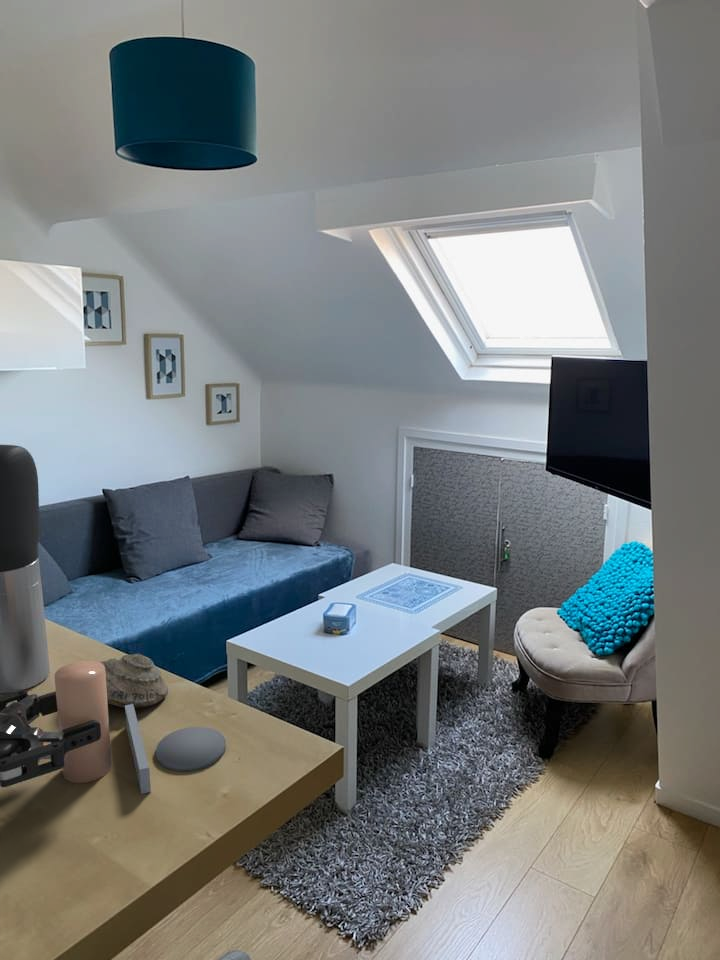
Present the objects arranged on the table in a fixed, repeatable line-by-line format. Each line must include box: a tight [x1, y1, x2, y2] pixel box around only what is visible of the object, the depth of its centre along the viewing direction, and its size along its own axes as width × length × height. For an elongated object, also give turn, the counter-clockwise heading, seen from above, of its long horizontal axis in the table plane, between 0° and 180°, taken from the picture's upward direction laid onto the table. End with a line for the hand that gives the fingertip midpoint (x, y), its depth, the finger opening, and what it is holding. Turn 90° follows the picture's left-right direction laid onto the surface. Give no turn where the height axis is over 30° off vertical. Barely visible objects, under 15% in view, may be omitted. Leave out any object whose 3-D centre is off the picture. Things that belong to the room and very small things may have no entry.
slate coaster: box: [155, 726, 227, 772], centre depth 87 cm, size 8×8×1 cm
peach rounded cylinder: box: [54, 660, 113, 784], centre depth 82 cm, size 5×5×12 cm
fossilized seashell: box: [99, 653, 169, 709], centre depth 98 cm, size 11×11×7 cm
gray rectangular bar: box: [124, 704, 152, 795], centre depth 85 cm, size 14×1×3 cm, turn 24°
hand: (86, 711), depth 82 cm, fingers open, 8 cm apart
